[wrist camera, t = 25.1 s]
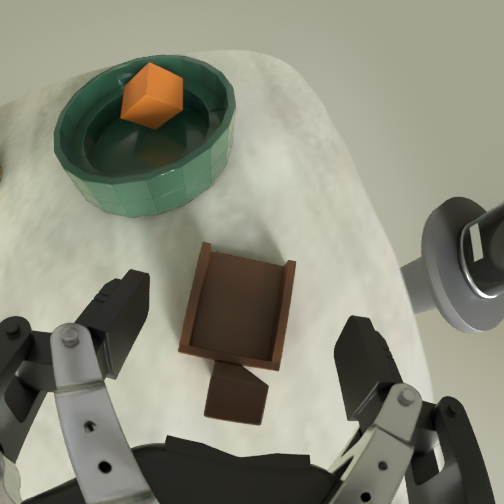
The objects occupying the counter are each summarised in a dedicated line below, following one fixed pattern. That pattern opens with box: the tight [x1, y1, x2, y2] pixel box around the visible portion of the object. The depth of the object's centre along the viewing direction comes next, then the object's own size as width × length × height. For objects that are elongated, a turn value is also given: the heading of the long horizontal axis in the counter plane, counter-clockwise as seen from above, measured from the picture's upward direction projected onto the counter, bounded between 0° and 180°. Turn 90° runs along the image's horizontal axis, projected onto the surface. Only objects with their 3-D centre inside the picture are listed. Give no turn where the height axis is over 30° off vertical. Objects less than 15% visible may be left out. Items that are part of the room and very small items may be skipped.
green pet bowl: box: [54, 55, 236, 217], centre depth 22 cm, size 15×15×6 cm
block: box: [121, 62, 183, 130], centre depth 22 cm, size 4×4×4 cm
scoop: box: [178, 242, 296, 426], centre depth 15 cm, size 9×7×12 cm
